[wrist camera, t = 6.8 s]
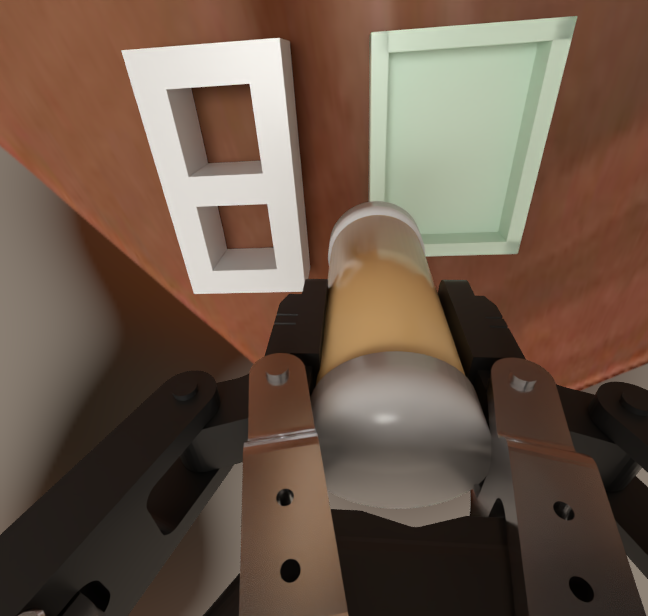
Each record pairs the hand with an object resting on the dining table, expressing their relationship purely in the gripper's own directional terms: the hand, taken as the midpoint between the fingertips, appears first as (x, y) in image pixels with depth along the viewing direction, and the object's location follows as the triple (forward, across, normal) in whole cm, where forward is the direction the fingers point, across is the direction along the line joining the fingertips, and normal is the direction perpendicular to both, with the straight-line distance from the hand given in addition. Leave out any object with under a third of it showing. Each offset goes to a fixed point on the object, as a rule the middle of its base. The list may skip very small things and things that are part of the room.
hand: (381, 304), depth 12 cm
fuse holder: (+18, +9, +1) cm, 21 cm away
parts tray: (+18, -6, -1) cm, 19 cm away
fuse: (+4, 0, 0) cm, 4 cm away
